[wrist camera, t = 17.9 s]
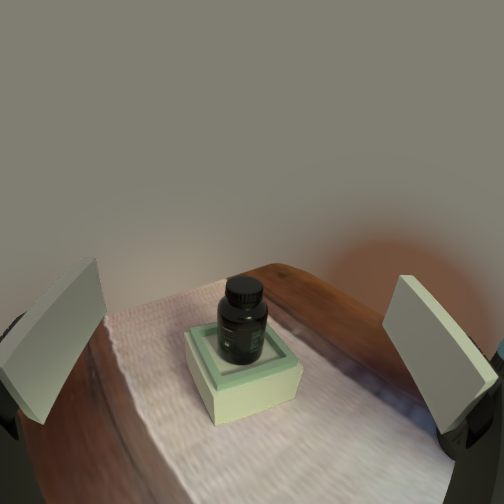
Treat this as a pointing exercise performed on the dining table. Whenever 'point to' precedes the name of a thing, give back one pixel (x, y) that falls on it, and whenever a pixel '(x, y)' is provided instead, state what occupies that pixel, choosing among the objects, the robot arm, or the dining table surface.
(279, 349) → the riser
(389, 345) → the dining table surface
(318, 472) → the dining table surface
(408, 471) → the dining table surface
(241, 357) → the supplement bottle
